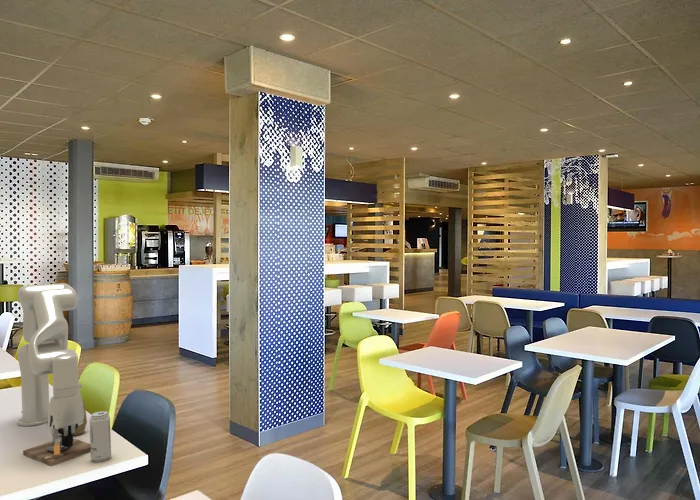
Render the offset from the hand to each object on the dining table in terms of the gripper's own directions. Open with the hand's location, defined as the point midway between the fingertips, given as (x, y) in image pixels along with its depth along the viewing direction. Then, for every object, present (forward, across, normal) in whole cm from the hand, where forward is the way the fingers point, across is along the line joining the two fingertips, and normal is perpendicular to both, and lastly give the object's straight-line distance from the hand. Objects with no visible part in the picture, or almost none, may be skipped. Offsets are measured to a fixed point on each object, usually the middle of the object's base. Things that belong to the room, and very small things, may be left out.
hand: (67, 445), depth 177 cm
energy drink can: (+4, -4, +12) cm, 13 cm away
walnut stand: (+4, -1, -6) cm, 7 cm away
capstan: (+2, +1, -3) cm, 4 cm away
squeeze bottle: (+4, -14, -19) cm, 24 cm away
